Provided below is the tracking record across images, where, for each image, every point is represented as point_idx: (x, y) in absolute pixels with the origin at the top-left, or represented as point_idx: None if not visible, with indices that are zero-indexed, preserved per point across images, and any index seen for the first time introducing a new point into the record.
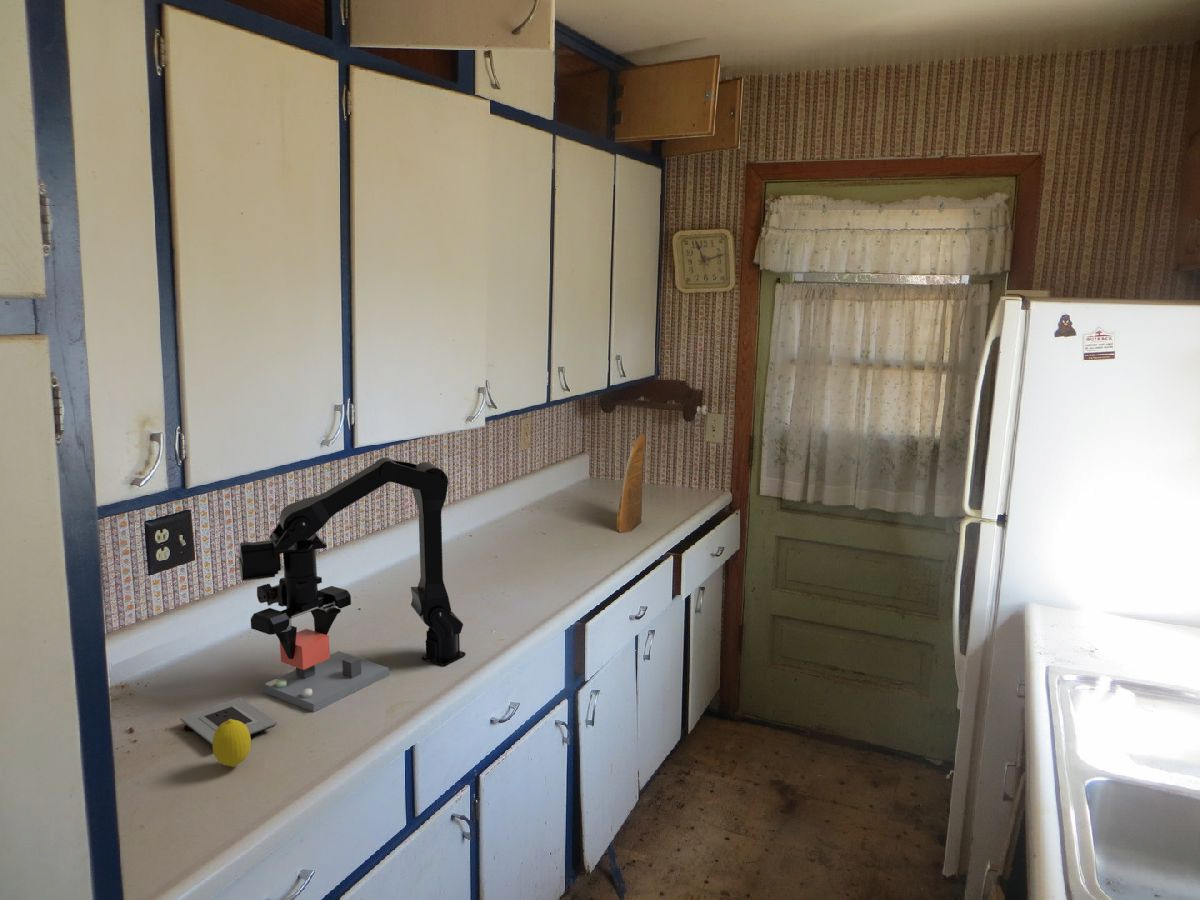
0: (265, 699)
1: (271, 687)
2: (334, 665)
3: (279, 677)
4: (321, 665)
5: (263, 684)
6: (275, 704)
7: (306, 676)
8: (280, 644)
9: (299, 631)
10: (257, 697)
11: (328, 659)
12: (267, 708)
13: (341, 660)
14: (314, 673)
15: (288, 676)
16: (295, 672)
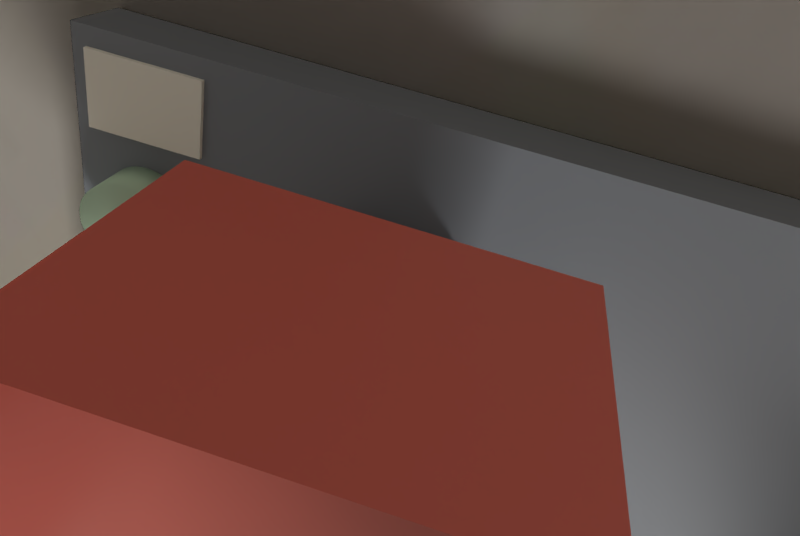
0: (61, 117)
1: (82, 144)
2: (646, 401)
3: (248, 84)
4: (619, 307)
5: (73, 33)
6: (64, 226)
7: None
8: (6, 298)
9: (419, 529)
10: (40, 33)
11: (781, 305)
12: (3, 210)
13: (774, 412)
14: None
15: (306, 151)
16: (401, 163)
